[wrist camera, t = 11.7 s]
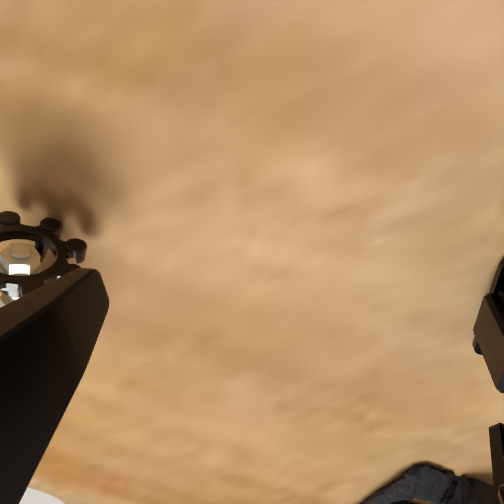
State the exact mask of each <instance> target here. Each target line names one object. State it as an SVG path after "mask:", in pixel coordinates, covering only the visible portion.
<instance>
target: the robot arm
mask: <svg viewBox="0 0 504 504" xmlns="http://www.w3.org/2000/svg"><path fill="white" fill-rule="evenodd" d="M108 308H109V298H108V295H107V292H106V289H105V286H104V283H103V280H102V277H101V274H100V273H99V271H98V270H96V269H90V268H78V269H75V270H73V271H71V272H69V273H67V274H65V275H63V276H61V277H59V278H57V279H55V280H53V281H52V282H50V283H48V284H46V285H44V286H42V287H40V288H38V289H36V290H34V291H32V292H30V293H28V294H26V295H24V296H22V297H20V298H18V299H16V300H14V301H12V302H10V303H8V304H7V305H5V306H3V307H1V308H0V504H19V503H20V501H21V499H22V497H23V495H24V492H25V491H26V489H27V487H28V485H29V483H30V481H31V479H32V477H33V475H34V473H35V471H36V469H37V467H38V465H39V463H40V461H41V459H42V457H43V455H44V453H45V451H46V449H47V447H48V445H49V443H50V441H51V439H52V437H53V435H54V433H55V431H56V429H57V427H58V425H59V423H60V421H61V419H62V417H63V415H64V413H65V411H66V409H67V407H68V405H69V403H70V401H71V399H72V397H73V395H74V393H75V391H76V389H77V387H78V385H79V383H80V380H81V378H82V376H83V374H84V372H85V370H86V367H87V365H88V362H89V360H90V357H91V354H92V352H93V349H94V346H95V344H96V341H97V338H98V336H99V333H100V330H101V328H102V325H103V322H104V320H105V317H106V314H107V312H108ZM473 331H474V334H475V337H474V340H473V348H474V351H475V352H476V353H477V354H480V355H483V357H484V359H485V362H486V364H487V367H488V370H489V372H490V375H491V377H492V380H493V382H494V385H495V387H496V389H497V390H498V391H499V392H500V393H504V259H503V260H502V261H500V263H499V265H498V268H497V271H496V274H495V277H494V280H493V283H492V286H491V289H490V292H489V293H488V294H486V295H485V296H484V298H483V301H482V304H481V307H480V310H479V313H478V316H477V319H476V322H475V326H474V329H473ZM489 437H490V448H491V459H492V471H493V482H494V493H495V503H496V504H504V424H502V423H498V424H496V425H493V426H491V427H489Z"/></svg>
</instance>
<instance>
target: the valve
mask: <svg viewBox="0 0 504 504" xmlns="http://www.w3.org/2000/svg"><path fill="white" fill-rule="evenodd" d="M20 220H21V218H20V216H19V215H18V214H17V213H15V212H12V211H4V212H1V213H0V242H2V241H6V240H11V239H26V240H31V241H35V248H34V247H33V246H32V245H29V244H20V243H19V244H11V245H9V246H8V247H6V248H5V249H4V250H3V251H2V252H1V253H0V291H1V292H2V293H3V294H2V295H1V296H0V308H1V307H3V306H5V305H7V304H8V303H10V302H12V301H14V300H16V299H18V298H20V297H22V296H24V295H26V294H28V293H30V292H32V291H34V290H36V289H38V288H40V287H42V286H44V285H46V284H48V283H50V282H52V281H53V280H55V279H57V278H59V277H61V276H63V275H65V274H67V273H69V272H71V271H73V270H75V269H78V268H81V267H80V266H78V265H76V264H68V262H67V261H68V259H70V258H75V259H76V263H77V264H78V263H81V262H83V261H84V260H85V256H86V250H87V244H86V242H84V241H83V240H81V239H77V238H73V239H69V240H68V241H62V240H60V237H61V229H62V224H61V222H60V221H58V220H56V219H54V218H45V219H43V220H41V222H40V225H39V226H35V227H34V226H27V225H23V224H21V223H20ZM48 248H49V249H50V250H51V251H52V252H53V253H54V255H55V258H56V261H55V262H54V263H53V265H52V266H51V267H49V268H48V269H46V270H44V271H42V272H41V262H42V261H43V259H44V257H45V255H46V253H47V249H48Z"/></svg>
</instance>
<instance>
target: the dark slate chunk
mask: <svg viewBox="0 0 504 504" xmlns="http://www.w3.org/2000/svg"><path fill="white" fill-rule="evenodd" d="M453 480H454V481H453ZM413 498H416V499H419V500H424V501H430V502H432V503H433V504H496V503H495V493H494V487H493V486H491V485H489V484H487V483H485V482H482V481H480V480H478V479H474V478H469V479H467V478H465V477H464V476H461V477H460V476H458V477H457V476H455V474H452V473H450V472H448V471H446V470H444V471H442V472H440V471H438V470H434V469H431V468H430V467H428V466H422V465H416V466H414V467H412V468H410V469H409V470H407V471H406V472H405V473H404V475H403V478H401V479H399V480H397V481H396V482H395V483H393V484H390V485H388V486H387V487H385V488H383V489H381V490H379V491H377V492H376V493H375V494H374V495H373V496H372V497H370V498H368V499H367V500H366V501H364V502H363V503H361V504H415V503H412V502H408V501H405V500H404V499H408V500H411V499H413ZM432 503H431V504H432Z"/></svg>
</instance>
